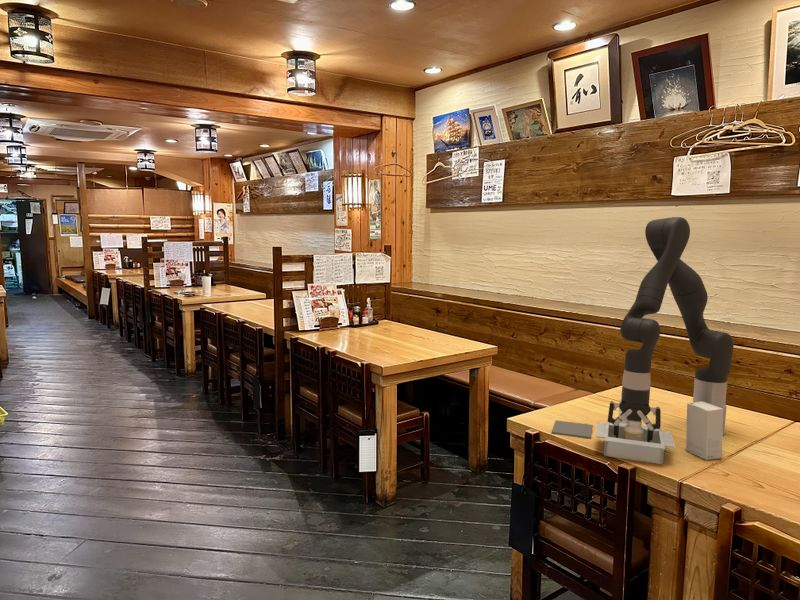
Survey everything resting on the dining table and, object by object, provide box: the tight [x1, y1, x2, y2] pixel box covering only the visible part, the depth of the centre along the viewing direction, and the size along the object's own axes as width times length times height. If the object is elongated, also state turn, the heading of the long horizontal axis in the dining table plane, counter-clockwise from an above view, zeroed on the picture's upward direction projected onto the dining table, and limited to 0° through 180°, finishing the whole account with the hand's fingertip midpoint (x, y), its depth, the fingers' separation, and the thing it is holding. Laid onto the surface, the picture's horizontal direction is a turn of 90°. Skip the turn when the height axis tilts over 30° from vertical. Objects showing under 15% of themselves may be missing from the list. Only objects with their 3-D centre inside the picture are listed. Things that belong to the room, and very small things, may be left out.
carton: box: [595, 420, 675, 465], centre depth 164 cm, size 21×18×6 cm
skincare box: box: [685, 402, 724, 461], centre depth 162 cm, size 8×6×15 cm
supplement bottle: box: [624, 419, 644, 441], centre depth 164 cm, size 5×5×10 cm
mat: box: [550, 420, 594, 440], centre depth 182 cm, size 12×12×1 cm
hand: (632, 439), depth 164 cm, fingers open, 8 cm apart
